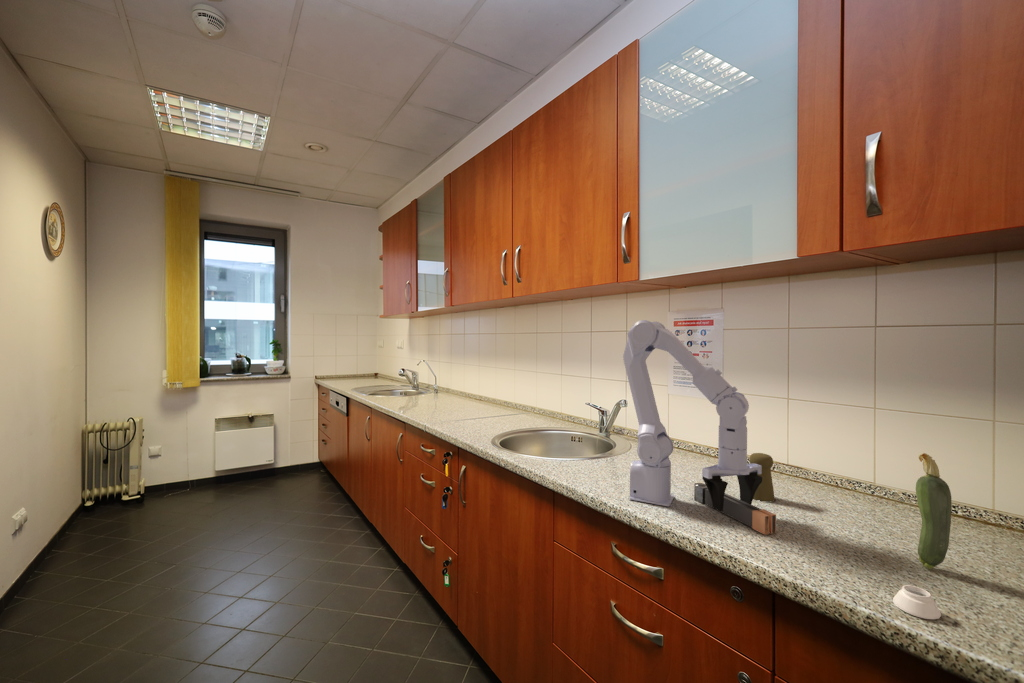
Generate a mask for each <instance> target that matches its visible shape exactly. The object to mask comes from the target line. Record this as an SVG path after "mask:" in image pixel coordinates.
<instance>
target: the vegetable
mask: <svg viewBox="0 0 1024 683" xmlns="http://www.w3.org/2000/svg"><path fill="white" fill-rule="evenodd" d="M918 459H919V462H922V468H923V471H924V473H925V475H923V476H920V477H919V478H918V479H917V481H916V484H915V495H916V500H917V501H916V502H917V505H918V509H919V512H920V517H921V529H920V535H919V540H918V548H917V555H918V560H919V562H920V563H921V564H922V565H923V566H924V567H925V568H926V569H928V570H932V569H934V568H935V567H937V566H939V565H941V564H942V563H943V562H944V560H945V558H946V555H947V553H948V549H949V544H950V536H951V535H950V534H951V526H952V524H951V523H952V512H953V511H952V493H951V489H950V486H949V485H948V483H947V482H946V481H945V480H944V479H943V478H941V475H940V469H939V466H938V464H937V463H936V460H935V459H933V457H932V456H931V455H929V454H928V453H925V452H923V453H921V454H919V455H918Z"/></svg>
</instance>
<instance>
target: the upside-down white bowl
mask: <svg viewBox="0 0 1024 683" xmlns="http://www.w3.org/2000/svg"><path fill="white" fill-rule="evenodd" d="M931 595H932V594H931V593H930V592H929V591H927V590H926V589H923V588H921V587H918V586H915V585H909V584H908V585H907V584H906V585H905V584H904V585H903V586H902V587H901V588H900V590H898V591H897V593H896V594H895V595H894V596H893V598H892V601H893V605H894V606H896V607H897V608H898V609H900V610H902V612H905V613H906V614H908V615H910V616H914V617H917V618H920V619H924V620H939V619H940V618H941V616H942V613H941V611H940V609H939V607H938V606H937V604H936V602H935V600H934V599H933V597H932V596H931Z"/></svg>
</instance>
